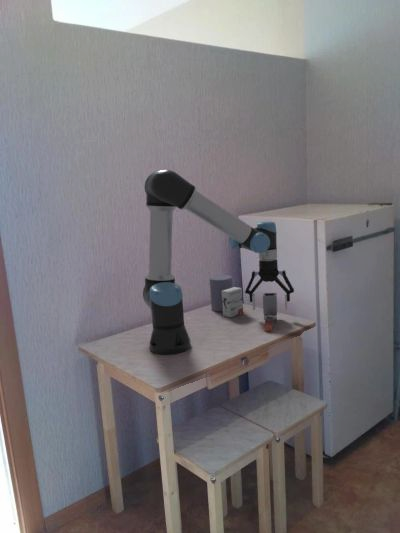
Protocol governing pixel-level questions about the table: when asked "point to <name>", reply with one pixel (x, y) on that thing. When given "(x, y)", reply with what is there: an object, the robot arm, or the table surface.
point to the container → (219, 290)
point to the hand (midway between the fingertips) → (270, 309)
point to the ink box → (232, 301)
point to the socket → (270, 303)
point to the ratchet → (269, 322)
